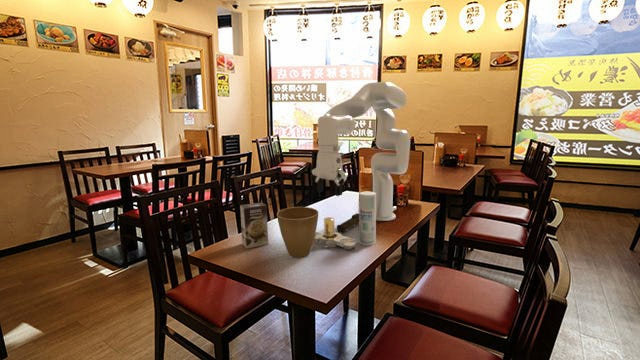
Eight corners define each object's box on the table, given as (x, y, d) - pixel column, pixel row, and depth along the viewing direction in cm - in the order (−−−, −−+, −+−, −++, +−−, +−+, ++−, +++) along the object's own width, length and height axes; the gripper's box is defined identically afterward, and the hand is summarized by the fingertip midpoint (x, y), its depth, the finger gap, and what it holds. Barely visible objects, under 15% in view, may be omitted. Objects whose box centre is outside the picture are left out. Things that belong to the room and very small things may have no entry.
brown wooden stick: (344, 234, 150) (344, 224, 149) (336, 232, 152) (336, 222, 151) (364, 222, 165) (365, 213, 164) (357, 221, 167) (357, 212, 166)
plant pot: (275, 249, 134) (273, 209, 131) (313, 244, 138) (312, 205, 135) (282, 265, 120) (280, 220, 117) (324, 259, 124) (323, 215, 121)
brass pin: (329, 240, 142) (328, 216, 140) (336, 242, 140) (336, 218, 138) (322, 243, 139) (321, 219, 138) (329, 245, 137) (329, 221, 135)
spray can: (377, 240, 141) (377, 191, 137) (374, 246, 135) (374, 195, 131) (361, 238, 143) (361, 190, 140) (357, 244, 137) (357, 194, 134)
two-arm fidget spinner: (316, 233, 151) (315, 226, 151) (361, 246, 135) (361, 239, 134) (300, 239, 145) (300, 232, 144) (346, 253, 128) (346, 246, 128)
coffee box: (246, 249, 135) (243, 208, 132) (241, 243, 141) (239, 204, 138) (269, 244, 140) (267, 205, 137) (263, 239, 145) (261, 201, 142)
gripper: (352, 149, 130) (353, 194, 133) (318, 147, 141) (319, 188, 145) (339, 151, 124) (340, 198, 128) (305, 149, 136) (306, 192, 139)
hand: (329, 193), depth 136 cm, fingers open, 9 cm apart
